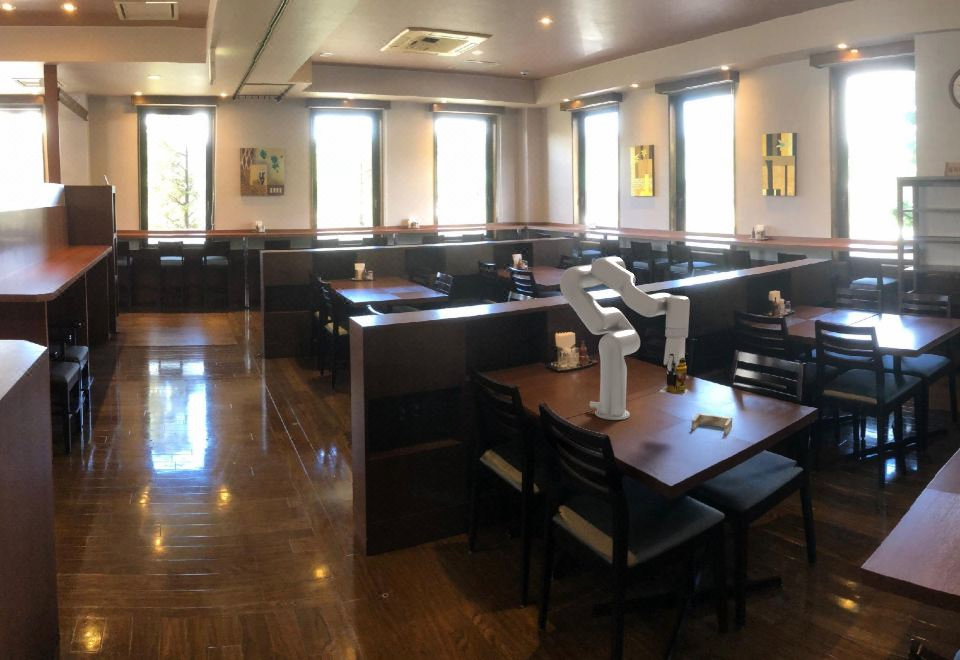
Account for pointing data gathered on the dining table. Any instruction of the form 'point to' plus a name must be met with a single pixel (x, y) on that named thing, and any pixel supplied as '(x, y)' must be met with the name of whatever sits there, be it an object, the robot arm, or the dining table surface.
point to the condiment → (678, 380)
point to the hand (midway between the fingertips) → (674, 382)
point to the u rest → (712, 421)
